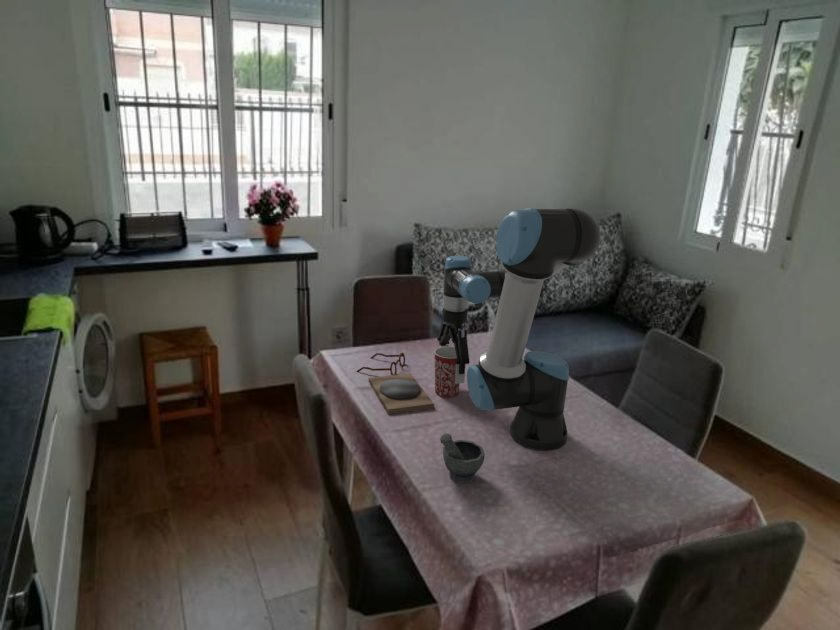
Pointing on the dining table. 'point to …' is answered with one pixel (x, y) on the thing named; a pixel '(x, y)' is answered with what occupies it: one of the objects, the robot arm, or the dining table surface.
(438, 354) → the mug
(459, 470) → the mortar and pestle
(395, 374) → the glasses
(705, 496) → the dining table surface
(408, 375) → the board
